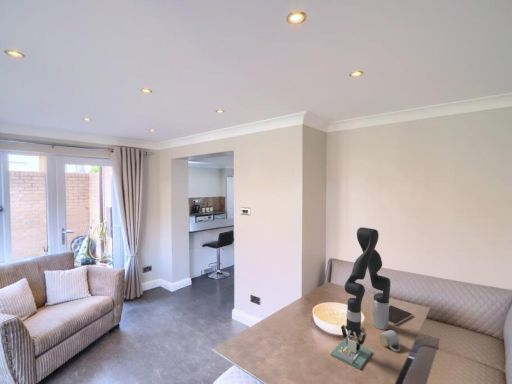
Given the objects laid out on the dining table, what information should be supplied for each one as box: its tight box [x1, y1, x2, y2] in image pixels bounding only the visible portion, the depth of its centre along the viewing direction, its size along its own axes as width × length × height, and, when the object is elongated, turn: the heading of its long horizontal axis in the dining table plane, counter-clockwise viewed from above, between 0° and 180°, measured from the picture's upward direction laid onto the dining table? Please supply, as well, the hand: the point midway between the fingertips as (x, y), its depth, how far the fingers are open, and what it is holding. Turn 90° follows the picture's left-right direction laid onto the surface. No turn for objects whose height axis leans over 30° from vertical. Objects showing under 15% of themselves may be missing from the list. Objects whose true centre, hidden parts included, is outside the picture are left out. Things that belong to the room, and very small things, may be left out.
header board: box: [330, 338, 373, 370], centre depth 141 cm, size 18×16×6 cm
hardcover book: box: [388, 304, 413, 326], centre depth 183 cm, size 16×23×2 cm
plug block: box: [347, 336, 357, 353], centre depth 143 cm, size 5×4×6 cm
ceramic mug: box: [379, 329, 401, 353], centre depth 148 cm, size 11×8×8 cm
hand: (353, 347), depth 143 cm, fingers closed on plug block, 4 cm apart
